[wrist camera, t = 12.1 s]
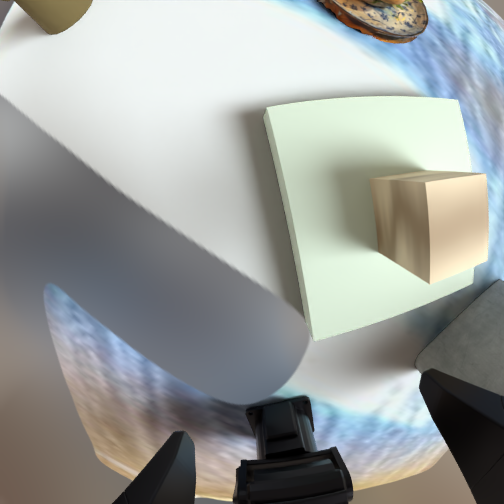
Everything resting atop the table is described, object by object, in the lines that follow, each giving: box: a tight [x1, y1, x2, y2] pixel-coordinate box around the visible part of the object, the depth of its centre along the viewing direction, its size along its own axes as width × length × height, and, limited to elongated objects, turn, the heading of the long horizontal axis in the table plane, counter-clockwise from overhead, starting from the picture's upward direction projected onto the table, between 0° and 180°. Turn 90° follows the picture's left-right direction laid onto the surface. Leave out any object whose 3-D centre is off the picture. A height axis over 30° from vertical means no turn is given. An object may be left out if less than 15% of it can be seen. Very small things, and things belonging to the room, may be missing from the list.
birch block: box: [369, 170, 489, 285], centre depth 13 cm, size 5×5×6 cm
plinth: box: [263, 96, 474, 342], centre depth 18 cm, size 16×16×3 cm
